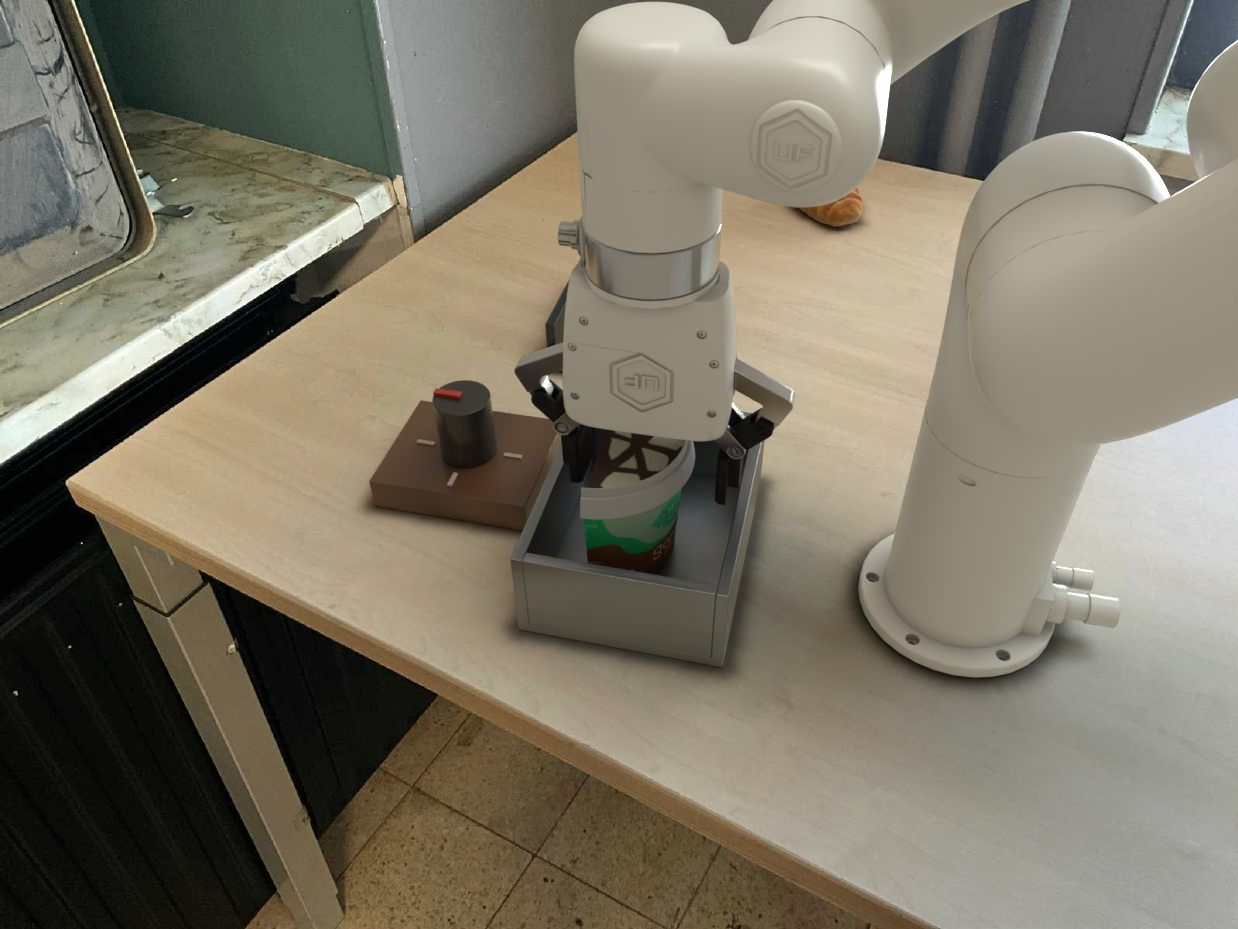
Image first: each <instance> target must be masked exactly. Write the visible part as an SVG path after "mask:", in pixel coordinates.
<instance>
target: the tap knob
mask: <svg viewBox="0 0 1238 929" xmlns="http://www.w3.org/2000/svg"><path fill="white" fill-rule="evenodd" d="M431 402H433V408H434V414H435V420H436V426H437V431H438V437H439V443H440V449H441V454H442V457H443V459H444V460H445V461H446V462H447V463H449V464H451V465H453V466H456V467H463V468H468V467H475V466H479V465H482V464H484V463H486V462H487V461H489V460H490V459H491V458H492V457H493V456H494V454H495V453H496V450H497V443H496V435H495V427H494V419H493V411H494V410H493V405H492V396H491V392H490V389H489V388H488V387H487V386H486V385H484V384H483V383H481V382H478V381H476V380H471V379H463V380H461V379H460V380H455V381H451V382H448V383H446V384H444V385H442V386H440V387H439V388H438V387H435V389H434V390H433V392H432V400H431Z"/></svg>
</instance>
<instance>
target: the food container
mask: <svg viewBox="0 0 1238 929" xmlns="http://www.w3.org/2000/svg"><path fill="white" fill-rule="evenodd" d="M694 464H695V449H694V444H693V441H688V440H680V439H672V438H665V437H657V436H650V435H643V434H636V433H628V432H621V431H614V430H607V429H606V431H605V434H604V436H603V439H602V443H601V447H600V450H599V453H598V457H597V460H596V463H595V466H594V470H593V473H592V476H591V479H590V482H589V485H588V488H582V487H581V498H580V518H582V519H583V520H584V530H585V540H586V550H587V561H588V563H590V564H596V565H602V566H607V567H613V568H619V569H625V570H631V571H637V572H642V573H648V574H654V573H656V572H657V571H658V570H659V569H661V568H662V567H663V566H664V565H665V564H666V562H667V561H668V559H669V557H670V556H671V554H672V551H673V548H674V541H675V533H676V526H677V518H678V511H679V503H680V495H681V488H682V487H683V486H684V485H685V484H686V482H687V480H688V479H689V477H690V475H691V473H692V470H693V468H694Z"/></svg>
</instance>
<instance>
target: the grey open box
mask: <svg viewBox="0 0 1238 929" xmlns="http://www.w3.org/2000/svg"><path fill="white" fill-rule="evenodd" d="M741 412H742V413H743V414H744V415H745V416H746V417H747V416H749V415H750V414H752V413H753V412H747V411H741ZM591 429H592V448H593V455H592V459H591V461H590V464H589V466H588V469H587V471H586V474H585V476H584V479H583V481H582V482H580V483H572V482H571V479H570V466H569V464H568V463H564V462H563V455H562V443H561V445H560V447H559V449H558V452H557V454H556V456H555V458H554V461H553V463H552V465H551V468H550V470H549V472H548V474H547V477H546V479H545V481H544V483H543V486H542V488H541V490H540V492H539V495H538V497H537V499H536V502H535V504H534V506H533V508H532V511H531V513H530V515H529V517H528V520H527V522H526V524H525V526H524V529H523V530H521V533H520V535H519V538H518V540H517V542H516V545H515V547H514V549H513V552H512V554H511V555H510V558H509V562H510V569H511V578H512V586H513V594H514V601H515V603H514V604H515V610H516V618H517V626H518V630H519V631H526V632H529V633H530V632H531V633H536V634H541V635H546V636H553V637H558V638H563V639H569V640H573V641H579V642H584V643H590V644H596V645H599V646H600V645H601V646H606V647H611V648H616V649H621V650H626V651H627V650H628V651H632V652H638V653H643V654H648V655H653V656H660V657H664V658H670V659H675V660H680V661H686V662H690V663H696V664H703V665H707V666H713V667H719V668H723V667H724V662H725V658H726V653H727V649H728V644H729V640H730V639H729V638H730V633H731V628H732V624H733V618H734V613H735V608H736V604H737V599H738V593H739V589H740V584H741V579H742V574H743V570H744V564H745V559H746V554H747V549H748V545H749V539H750V536H751V535H750V534H751V529H752V526H753V520H754V515H755V511H756V505H757V500H758V496H759V491H760V486H761V476H762V470H763V469H762V467H763V461H764V460H763V459H764V449H765V442H766V440H764V441H762V442H761V443H759V444H757V445H755V446H754V447H752V448H750V449H749V450H747V451H746V452H745V456H744V457H743V468H742V476H741V482H740V486H739V488H733V487H730V488H729V492H728V497H727V501H726V505H719V504H717V502H715V485H716V467H717V458H718V454H719V450H720V447H719V446H718V445H717V443H716V442H715V441H714V440H712V441H703V442H701V441H693V444H694V449H695V464H694V468H693V470H692V473H691V475H690V477H689V479H688V480H687V482H686V484H685V485H684V486H683V487H682V488H681V495H680V503H679V511H678V518H677V526H676V533H675V541H674V548H673V551H672V554H671V556H670V557H669V559H668V561H667V562H666V564H665V565H664V566H663V567H662V568H661V569H659V570H658V571H657V572H656V573H654V574H648V573H642V572H637V571H631V570H625V569H619V568H613V567H607V566H602V565H596V564H590V563H588V561H587V550H586V540H585V530H584V520H583V519H582V518H580V498H581V487H582V488H588V485H589V482H590V479H591V476H592V473H593V470H594V466H595V463H596V460H597V457H598V453H599V450H600V447H601V443H602V439H603V436H604V434H605V431H606V429H600V428H594V427H591Z"/></svg>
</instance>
